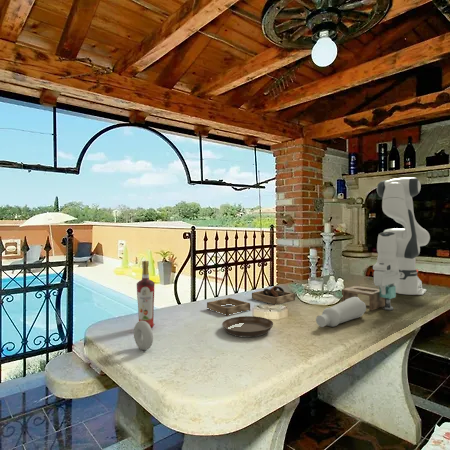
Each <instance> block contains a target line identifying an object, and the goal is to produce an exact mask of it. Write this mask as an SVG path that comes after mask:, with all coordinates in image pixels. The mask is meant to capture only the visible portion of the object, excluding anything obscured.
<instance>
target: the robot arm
mask: <svg viewBox="0 0 450 450" xmlns="http://www.w3.org/2000/svg"><path fill="white" fill-rule="evenodd" d="M421 186H422V185H421V182H420V179H418V178H417V177H411V176H410V177H398V178H392V179H388V180H386V179H384V180H381V181H379V182H378V183H377V186H376V192H377V195H378V197H379V198H381V199H382V201H381V208H382V212H383V214H384V215H386V216H387V217H388V218H391V219H393V221H395V222H396V223H398V224H400V225H402V228H398V227H396V228H395V227H394V228H387V229H384V230H383V232H380V233H378V236H377V243H376V252H377V259H376V262H375V264H373V265H372V270H374V271H373V284H374V286H376V287H379V286H380V289H381V294H383V295H385V294H386V290H385V288H386V285H392V286H396V294H400V295H407V296H408V295H409V296H410V295H413V296H414V295H418V296H419V295H421V296H423V295H424V294H425V293H426V292H427V289H426V288H423V284H422V283H423V281H422V280H421V279H420V278H419V276H418V273H419V269H416V268H417V266H416V258H417V257H418V256H419V255H420V254H421V253H420V252H421V247H424V246H426V245H428V244H429V242H430V240H431V235H430V233H429V231H428V230H426V229H425V228H423V227H422V226H421V225H420V224H419V223H418V222H417V220H416V217H415V213H414V201H413V198H414V197H416V196H417V195H418V194H420V191H421V188H422V187H421Z"/></svg>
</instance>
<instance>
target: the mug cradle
mask: <svg viewBox="0 0 450 450" xmlns="http://www.w3.org/2000/svg"><path fill="white" fill-rule="evenodd" d="M275 292H276V294H277V295H278V293H283V292H282V291H279V289H277V290H275ZM266 293H268V292H267V291H266ZM295 297H296V294H295V293H293V292H288V291H284V296H280V297H273V296H266V295H264V293H263V290H259V291H253V292H251V299H252V298H253V299H252V300H255V299H256V301H260V302H263V303H267V304H271V303H272V305H275V304H276V305H280V304H284V303H288V302H291V301H295V300H296V298H295Z"/></svg>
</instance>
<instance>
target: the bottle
mask: <svg viewBox="0 0 450 450" xmlns="http://www.w3.org/2000/svg"><path fill="white" fill-rule="evenodd" d="M366 311H367V305H366V303H365V302H364V301H363V300H361V299H360V298H359V296H358V297H351V298H349V299H346V300H345V301H343V302H342V301H341V302H339V303H337V304H334V305H333V306H331V307H325V308H324V309H323V311H322V314H320V315H317V316H316V318H315V322H316V324H317V326H319V327H320V328H324V327H325V326H328V327H332V328H335V327H337V326H338V325H339V324H342V323H345V322H349V321H351V320H355V319H358V318H360V317H363V315H364V314H365V312H366Z"/></svg>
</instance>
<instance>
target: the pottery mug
mask: <svg viewBox="0 0 450 450" xmlns="http://www.w3.org/2000/svg"><path fill="white" fill-rule="evenodd" d="M275 290H279V291H282V292H283V293H278V295H277V294H276V292H275ZM262 291H263V293H264V295H266V296H271V297H280V296H284V292H285V289H284V288H282V287H280V286H278V285H273V286H272V287H270V289H269V288H264V289H263V290H262ZM266 291H267V292H268V293H266Z"/></svg>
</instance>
